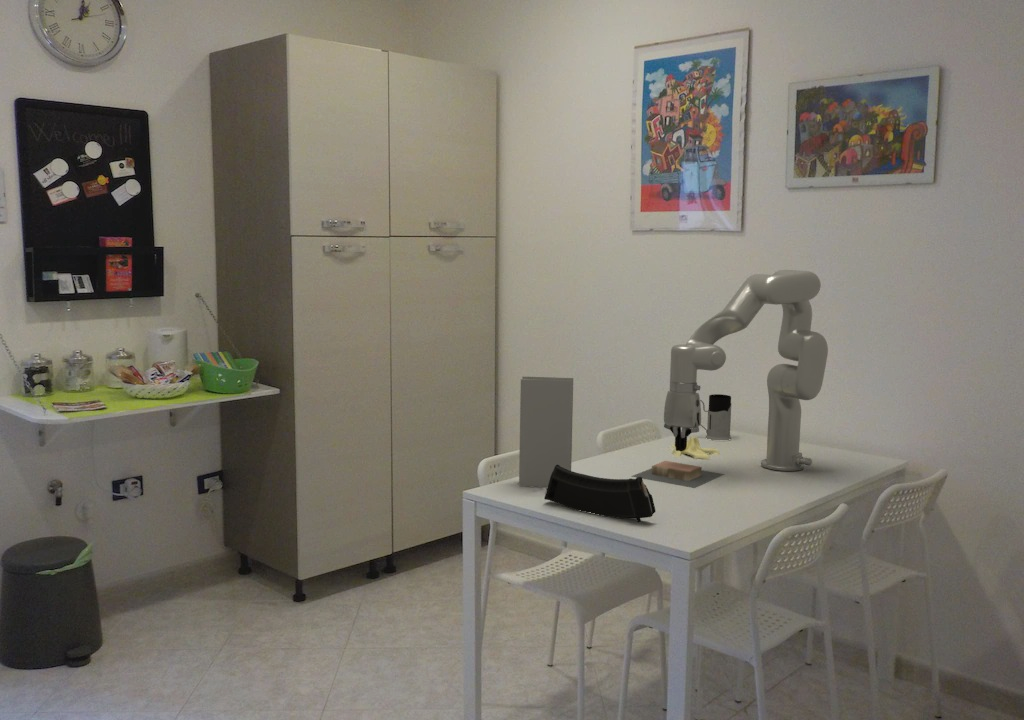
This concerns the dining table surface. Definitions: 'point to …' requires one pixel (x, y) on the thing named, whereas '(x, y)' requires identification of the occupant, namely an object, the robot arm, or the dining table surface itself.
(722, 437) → the glass holder
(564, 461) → the grey tall flat panel
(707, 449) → the cloth
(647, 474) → the mat
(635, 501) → the magazine
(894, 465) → the dining table surface
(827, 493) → the dining table surface
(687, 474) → the tile
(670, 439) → the dining table surface
